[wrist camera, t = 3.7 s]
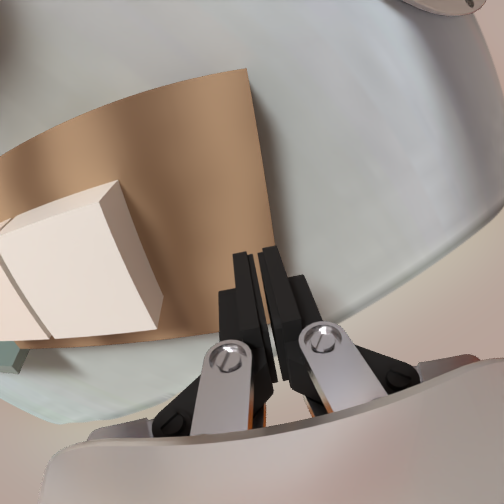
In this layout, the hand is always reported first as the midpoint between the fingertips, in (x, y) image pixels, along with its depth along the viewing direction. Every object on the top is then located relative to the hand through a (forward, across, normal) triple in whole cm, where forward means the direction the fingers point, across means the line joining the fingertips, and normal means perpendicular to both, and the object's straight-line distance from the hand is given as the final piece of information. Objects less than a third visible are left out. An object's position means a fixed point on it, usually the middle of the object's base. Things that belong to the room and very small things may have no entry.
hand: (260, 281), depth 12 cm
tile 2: (+4, +9, -1) cm, 10 cm away
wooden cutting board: (+7, +10, -1) cm, 12 cm away
